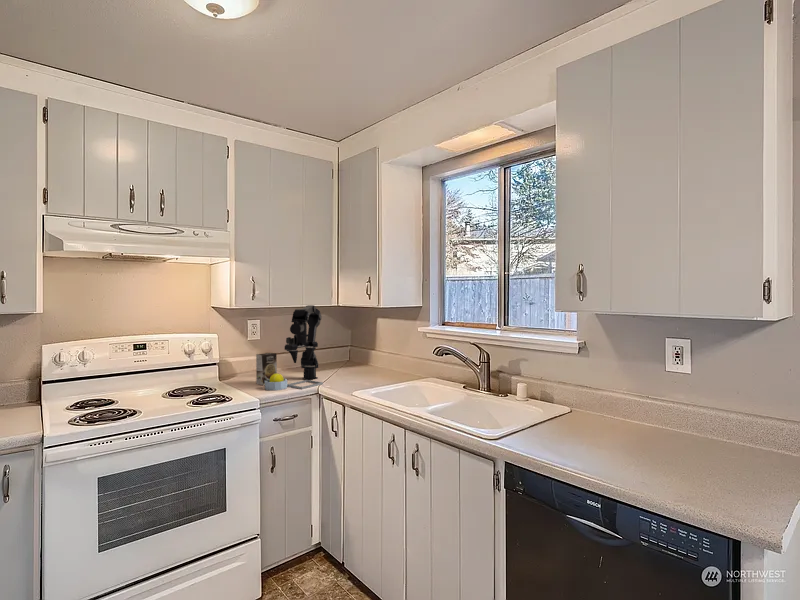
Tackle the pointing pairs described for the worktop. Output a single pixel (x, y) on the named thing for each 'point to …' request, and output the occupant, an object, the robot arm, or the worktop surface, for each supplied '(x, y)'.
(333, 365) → the worktop surface
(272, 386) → the bowl
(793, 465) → the worktop surface
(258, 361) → the coffee box
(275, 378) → the tennis ball
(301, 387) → the grey square frame
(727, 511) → the worktop surface
